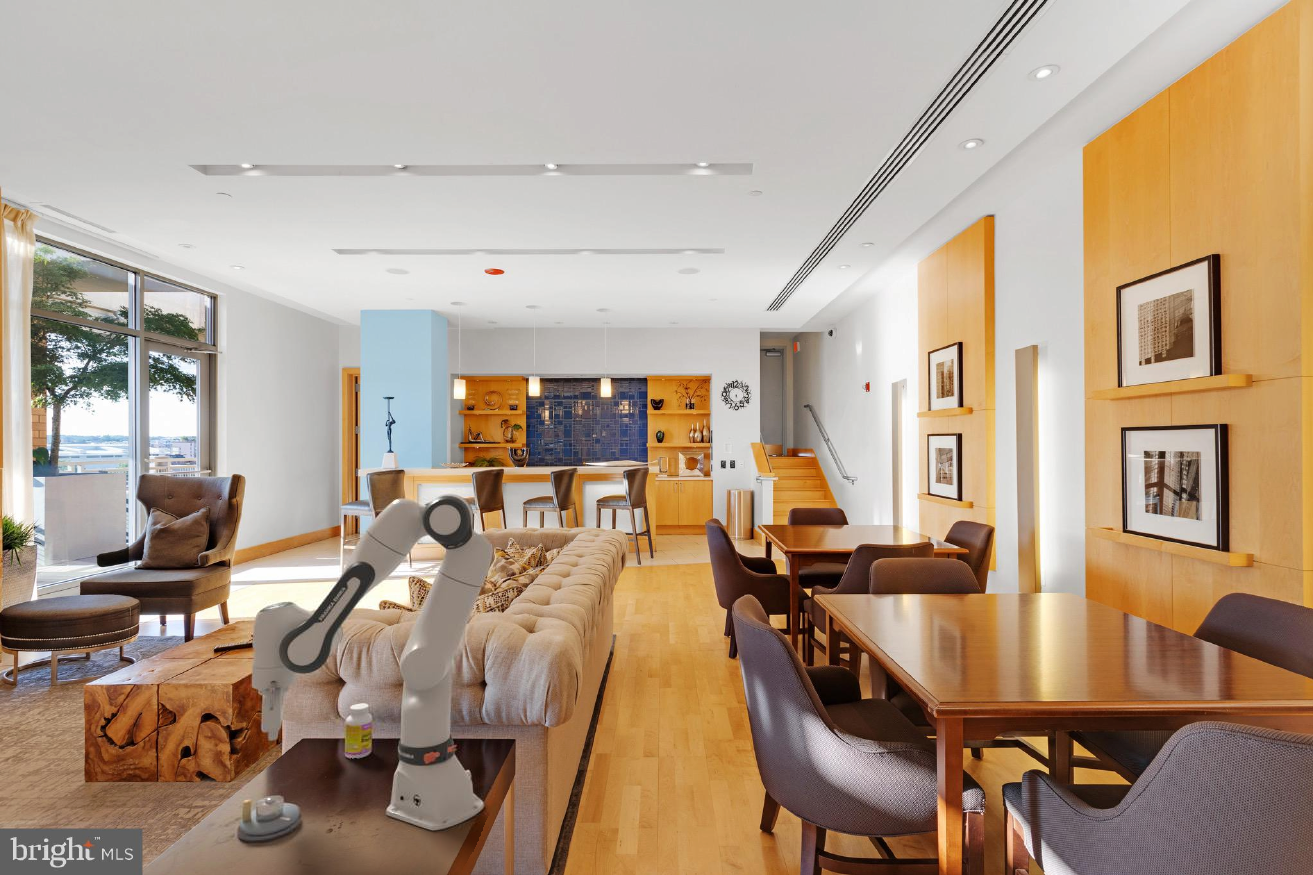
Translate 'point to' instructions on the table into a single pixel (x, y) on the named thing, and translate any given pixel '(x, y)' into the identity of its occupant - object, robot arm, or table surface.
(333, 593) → the robot arm
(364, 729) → the supplement bottle
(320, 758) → the table surface
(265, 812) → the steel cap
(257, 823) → the turntable
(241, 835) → the turntable base
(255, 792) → the table surface
